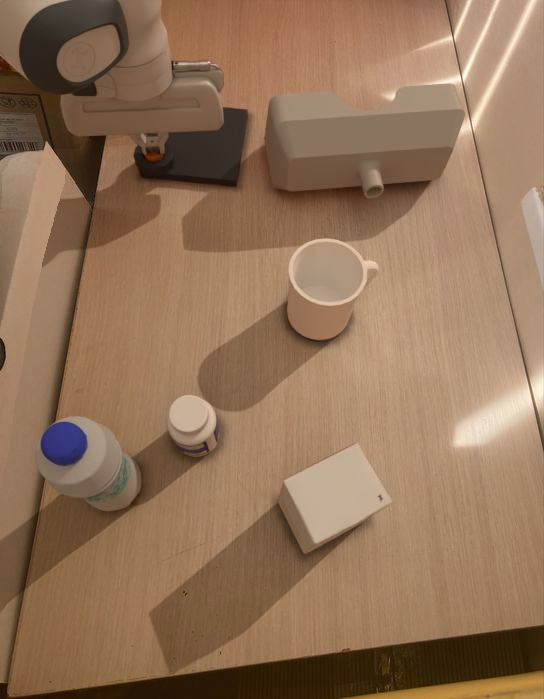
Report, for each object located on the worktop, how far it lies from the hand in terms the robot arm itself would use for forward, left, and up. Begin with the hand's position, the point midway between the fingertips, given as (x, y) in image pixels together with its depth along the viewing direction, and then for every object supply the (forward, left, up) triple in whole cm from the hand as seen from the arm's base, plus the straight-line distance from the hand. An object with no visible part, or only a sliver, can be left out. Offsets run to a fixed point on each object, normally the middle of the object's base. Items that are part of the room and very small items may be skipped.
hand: (154, 151), depth 76 cm
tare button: (0, 0, -2) cm, 2 cm away
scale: (+5, +5, -3) cm, 8 cm away
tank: (+29, +2, -4) cm, 29 cm away
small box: (+27, -46, -4) cm, 53 cm away
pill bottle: (+12, -39, -4) cm, 41 cm away
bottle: (+4, -46, -4) cm, 46 cm away
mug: (+26, -21, -4) cm, 33 cm away
